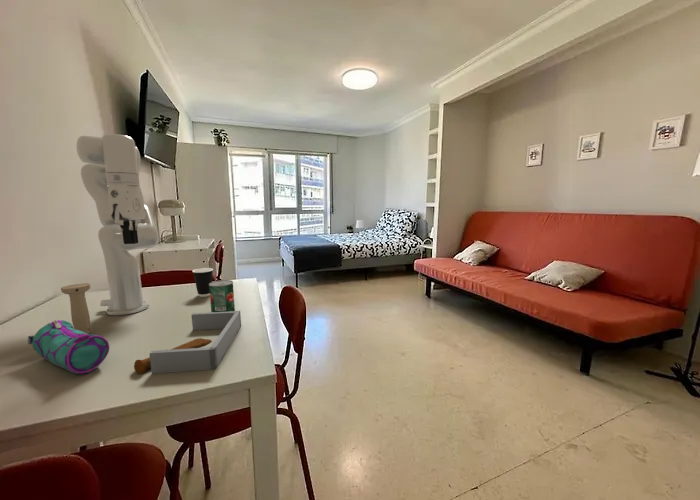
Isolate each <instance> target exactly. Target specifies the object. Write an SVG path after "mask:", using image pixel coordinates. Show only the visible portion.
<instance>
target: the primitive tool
mask: <svg viewBox="0 0 700 500" xmlns="http://www.w3.org/2000/svg"><path fill="white" fill-rule="evenodd" d="M212 342H213V341H212V339H208V338H207V339H205V338H203V337H202V338H201V337H200V338H195V339H193V340H190V341H188V342H186V343H183V344H180V345H179V346H175V347H174V348H171V349H170V350H174V349H190V348H202V347H204V346H207V345H209V344H211V343H212ZM133 368H134V372H135V373H136V374H139V375H143V374H145V372H146V371H147V370H149V369H151V362H150V356H149V357H146V358H144V359H136V360H135V362H134V364H133Z"/></svg>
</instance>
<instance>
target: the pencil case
mask: <svg viewBox="0 0 700 500" xmlns="http://www.w3.org/2000/svg"><path fill="white" fill-rule="evenodd" d="M27 344H28V345H31V346H32V348H33V349H34V351H35V352H36V353H37V355H39V356H40V357H42V358H44V359H45V360H47V361H48V362H50V363H52V364H53V365H55V366H58V367H60V368H62V369H64V370H66V371H69V372H71V373H72V374H77V375H84V374H89V373H91V372H93V371H95V369H97V368H98V367H100V365H101V364H102V363H103V362H104V360H105V359H106V358H107V356H108V355H109V353H110V343H109V341H108V340H107V339H106V338H105V337H104V336H102V335H99V334H91V333H89V334H87V333H85V332H83V331H79V330H76V329H74V327H73V323H72V322H69V321H66V320H63V319H62V320H59V319H57V320H56V319H55V320H54V321H51V322H48V323H47V324H45V325H43V327H41V328H39V329H38V330H37V332H36V333H35V334H34V335H31V336H30V335H29V336H28V337H27Z"/></svg>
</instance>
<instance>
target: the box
mask: <svg viewBox="0 0 700 500" xmlns="http://www.w3.org/2000/svg"><path fill="white" fill-rule="evenodd" d="M190 315H191V326H192V327H191V328H192V331H202V330H218V329H222V331H221V332H220V333H219V335H218V337H217V338H216V339H215V340H214V342H213V343H212V345H211V346H209V347H208V346H207V347H199V348H190V349H174V350H171V349H163V350H161V349H160V350H151V351H150V352H149V357H150V362H151V368H150V371H151V374H165V373H178V372H179V373H180V372H195V371H206V370H209V371H210V370H217V368H218V367H219V366H220V363H221V361H222V360H223V358H224V357H225V354H227V351H228V349H229V348H230V346H231V344H232V343H233V341H234V340H235V338H236V336H237V335H238V332H239V330H240V329H241V327H242V319H241V311H240V310H237V311H236V310H235V311H230V312H211V311H210V312H194V313H193V312H192V313H191V314H190Z"/></svg>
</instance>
